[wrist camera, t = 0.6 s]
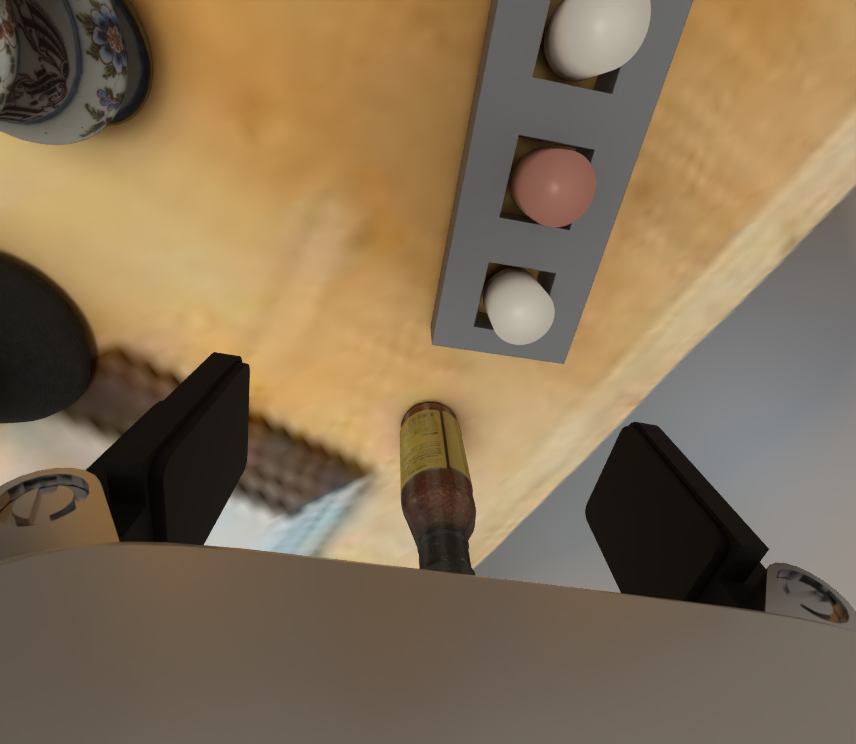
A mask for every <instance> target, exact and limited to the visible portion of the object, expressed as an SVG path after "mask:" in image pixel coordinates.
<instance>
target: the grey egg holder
mask: <svg viewBox="0 0 856 744" xmlns="http://www.w3.org/2000/svg"><path fill="white" fill-rule="evenodd" d="M550 1H551V0H492V1H491V6H490V12H489V17H488V22H487V28H486V33H485V38H484V44H483V49H482V55H481V60H480V65H479V71H478V76H477V81H476V87H475V92H474V97H473V103H472V108H471V113H470V119H469V124H468V129H467V135H466V140H465V145H464V151H463V156H462V162H461V167H460V172H459V178H458V183H457V188H456V194H455V199H454V204H453V210H452V215H451V220H450V226H449V231H448V236H447V242H446V247H445V253H444V258H443V263H442V269H441V274H440V279H439V285H438V290H437V295H436V301H435V306H434V311H433V317H432V322H431V338H432V345H437V346H444V347H451V348H458V349H464V350H471V351H478V352H485V353H492V354H499V355H506V356H513V357H520V358H527V359H533V360H540V361H547V362H554V363H561V364H564V363H565V360H566V357H567V354H568V352H569V349H570V346H571V343H572V340H573V337H574V335H575V332H576V329H577V326H578V323H579V321H580V318H581V315H582V312H583V309H584V307H585V304H586V301H587V298H588V295H589V292H590V290H591V287H592V284H593V281H594V278H595V276H596V273H597V270H598V267H599V264H600V261H601V259H602V256H603V253H604V250H605V247H606V245H607V242H608V239H609V236H610V233H611V230H612V228H613V225H614V222H615V219H616V216H617V214H618V211H619V208H620V205H621V202H622V199H623V197H624V194H625V191H626V188H627V185H628V183H629V180H630V177H631V174H632V171H633V168H634V166H635V163H636V160H637V157H638V154H639V152H640V149H641V146H642V143H643V140H644V137H645V135H646V132H647V129H648V126H649V123H650V121H651V118H652V115H653V112H654V109H655V106H656V104H657V101H658V98H659V95H660V92H661V90H662V87H663V84H664V81H665V78H666V75H667V73H668V70H669V67H670V64H671V61H672V59H673V56H674V53H675V50H676V47H677V44H678V42H679V39H680V36H681V33H682V30H683V28H684V25H685V22H686V19H687V16H688V13H689V11H690V8H691V5H692V2H693V0H650V2H651V17H650V23H649V27H648V31H647V34H646V36H645V39H644V41H643V43H642V44H641V46H640V48H639V49H638V51H637V52H636V53H635V55H634V56H633V57H632V58H631V59H630V60H629V61H628V62H626V63H625V64H624V65H622V66H621V67H619V68H617V69H615V70H612V71H609V72H606V73H603V74H600V75H598V78H597V81H596V84H595V88H594V90H590V89H586V88H581V87H576V86H572V85H567V84H562V83H558V82H553V81H548V80H544V79H539V78H534V77H533V73H534V69H535V64H536V60H537V56H538V52H539V47H540V43H541V39H542V35H543V30H544V26H545V22H546V18H547V14H548V9H549V5H550ZM518 137H522V138H527V139H532V140H537V141H542V142H547V143H552V144H557V145H562V146H567V147H572V148H577V149H576V152H578V153H580V154H582V155H583V156H584V157H585V158H587V160H588V161H589V162H590V164H591V165H592V167H593V170H594V173H595V178H596V188H595V193H594V197H593V200H592V202H591V204H590V206H589V207H588V209H587V210H586V211H585V213H584V214H583V215H582V216H581V217H580V218H578V219H577V220H576V221H574V222H573V223H571V224H568V225H566V226H563V227H547V226H543V225H541V224H539V223H538V222H536V221H535V220H533V219H532V218H530V217H529V216H523V215H517V214H512V213H506V212H501V208H502V204H503V200H504V196H505V191H506V187H507V183H508V179H509V175H510V170H511V166H512V162H513V158H514V153H515V149H516V145H517V141H518ZM489 262H492V263H498V264H504V265H510V266H516V267H522V268H528V269H534V270H540V275H539V278H538V283H539V284H540V285H541V286H542V288H543V289H544V290H545V291H546V292H547V294H548V295H549V296H550V298H551V299H552V301H553V304H554V309H555V315H554V320H553V323H552V325H551V327H550V329H549V330H548V331H547V332H546V334H545V335H544V336H542V337H541V338H540V339H538V340H536V341H535V342H532V343H529V344H525V345H514V344H510V343H507V342H505V341H504V340H502V339H501V338H500V337H499V336H498V335H497V334H496V333H495V331H494V329H493V326H492V324H491V321H490V319H489V317H488V314H487V313H482V312H477V310H478V306H479V302H480V297H481V293H482V289H483V285H484V280H485V276H486V272H487V268H488V263H489Z"/></svg>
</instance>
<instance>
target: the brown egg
mask: <svg viewBox="0 0 856 744" xmlns="http://www.w3.org/2000/svg"><path fill="white" fill-rule="evenodd" d="M595 188H596V178H595V173H594V170H593V167H592V165H591V164H590V162H589V161H588V160H587V158H585V157H584V156H583V155H582V154H580V153H578V152H576V151H573V150H566V149H556V148H538V149H535V150H532V151H530V152H529V153H527V154H526V155H524V156H523V157H522V158H521V159H520V160H519V161H518V163H517V164H516V166H515V167H514V169H513V172H512V174H511V178H510V194H511V197H512V200H513V202H514V204H515V205H516V206H517V208H518V209H519V210H521V211H522V212H523V213H525V214H526V215H528V216H529V217H530V218H532V219H533V220H535V221H536V222H538V223H539V224H541V225H543V226H547V227H563V226H566V225H568V224H571V223H573V222H574V221H576V220H577V219H578V218H580V217H581V216H582V215H583V214H584V213H585V211H586V210H587V209H588V207H589V206H590V204H591V202H592V200H593V197H594V193H595Z"/></svg>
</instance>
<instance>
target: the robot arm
mask: <svg viewBox="0 0 856 744" xmlns="http://www.w3.org/2000/svg"><path fill="white" fill-rule="evenodd" d="M249 379H250V367H249V365H248V364H246V363H242V358H241V357H240V356H234V355H228V354H222V353H216V352H214V353H212V354H211V355H210V356H209V357H208V358H207V359H206V360H205V361H204V362H203V363H202V364H201V365H200V366H199V367H198V368H197V369H196V370H195V371H194V372H193V373H192V374H191V375H189V376H188V377H187V378H186V379H185V380H184V381H183V382H182V383H181V384H180V385H179V386H178V387H177V388H176V389H175V390H174V391H173V392H172V393H171V394H170V395H169V396H168V397H167V398H166V399H165V400H164V401H159V402H158V403H156V404H155V405H154V406H153V407H152V408H151V409H150V410H149V411H147V412H146V413H145V414H144V415H143V416H142V417H141V418H140V419H139V420H138V421H137V422H136V423H135V424H134V425H133V426H132V427H131V428H130V429H129V430H127V431H126V432H125V433H124V434H123V435H122V436H121V437H120V438H119V439H118V440H117V441H116V442H115V443H114V444H113V445H112V446H111V447H110V448H109V449H107V450H106V451H105V452H104V453H103V454H102V455H101V456H100V457H99V458H98V459H97V460H96V461H95V462H94V463H93V464H92V465H91V466H90V467H89V468H87V469H86V470H80V469H75V468H53V469H47V470H41V471H36V472H33V473H30V474H26V475H23V476H20V477H18V478H16V479H14V480H11V481H9V482H7V483H5V484H3V485H2V486H0V744H856V611H855V610H854V609H853V608H852V606H851V605H850V604H849V602H848V601H847V600H846V599H845V598H843V596H841V594H839V593H838V592H837V591H836V590H835V589H833V588H832V587H831V586H830V585H828V584H827V583H826V582H824V581H823V580H821V579H820V578H818V577H816V576H815V575H813V574H811V573H810V572H808V571H805V570H803V569H801V568H799V567H797V566H793V565H790V564H786V563H773V564H771V565H769V566H768V568H767V569H765V568H764V567H763V565H762V564H761V563H760V561H761V559H762V558H763V557H764V555H765V554H766V553H767V551H768V550H769V548H768V547H767V546H766V545H765V544H764V543H763V542H762V541H761V540H760V538H758V536H757V535H756V534H755V533H754V532H753V531H752V530H751V528H750V527H749V526H748V525H747V524H746V523H745V522H744V521H743V520H742V519H741V517H740V516H739V515H738V514H737V513H736V512H735V511H734V510H733V509H732V507H731V506H730V505H729V504H728V503H727V502H726V501H725V500H724V499H723V497H722V496H721V495H720V494H719V493H718V492H717V491H716V490H715V489H714V487H713V486H712V485H711V484H710V483H709V482H708V481H707V480H706V479H705V477H703V475H702V474H701V473H700V472H699V471H698V470H697V469H696V467H695V466H694V465H693V464H692V463H691V462H690V461H689V460H688V459H687V458H686V456H685V455H684V454H683V453H682V452H681V451H680V450H679V449H678V447H677V446H676V445H675V444H674V443H673V442H672V441H671V440H670V439H669V437H668V436H667V435H666V434H665V433H664V432H663V431H662V430H661V429H660V428H659V427H658V426H656V425H650V424H644V423H638V422H633V423H631V424H630V425H629V426H626V427H624V428H623V429H622V430H621V432H620V434H619V436H618V438H617V440H616V443H615V445H614V447H613V449H612V451H611V453H610V456H609V458H608V460H607V462H606V464H605V466H604V468H603V471H602V473H601V475H600V477H599V479H598V481H597V484H596V485H595V488H594V490H593V492H592V494H591V496H590V499H589V501H588V503H587V505H586V510H585V514H586V519H587V522H588V523H589V526H590V528H591V530H592V532H593V534H594V536H595V538H596V541H597V543H598V545H599V547H600V549H601V551H602V553H603V556H604V558H605V560H606V562H607V564H608V566H609V568H610V570H611V572H612V575H613V577H614V579H615V581H616V583H617V585H618V587H619V589H620V591H621V593H615V592H607V591H597V590H590V589H582V588H574V587H565V586H557V585H549V584H540V583H532V582H523V581H515V580H507V579H498V578H490V577H482V576H473V575H465V574H457V573H448V572H440V571H432V570H423V569H415V568H407V567H398V566H390V565H381V564H373V563H364V562H355V561H346V560H338V559H329V558H320V557H311V556H303V555H294V554H285V553H276V552H268V551H259V550H250V549H241V548H230V547H218V546H206V545H204V543H205V541H206V540H207V538H208V536H209V534H210V532H211V530H212V529H213V527H214V525H215V523H216V521H217V519H218V518H219V516H220V514H221V512H222V510H223V508H224V507H225V505H226V503H227V501H228V499H229V497H230V496H231V494H232V492H233V490H234V488H235V486H236V485H237V483H238V481H239V479H240V477H241V475H242V474H243V472H244V469H245V466H246V462H247V451H248V415H249Z"/></svg>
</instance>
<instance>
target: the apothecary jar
mask: <svg viewBox="0 0 856 744" xmlns="http://www.w3.org/2000/svg"><path fill="white" fill-rule="evenodd" d="M151 82H152V57H151V51H150V46H149V43H148V39H147V36H146V33H145V31H144V28H143V26H142V24H141V22H140V20H139V17H138V15H137V14H136V12H135V10H134V8H133V7H132V5H131V4H130V2H129V1H128V0H0V131H1V132H3V133H6V134H8V135H11V136H13V137H16V138H19V139H22V140H26V141H30V142H34V143H40V144H50V145H63V144H71V143H76V142H79V141H82V140H85V139H88V138H90V137H92V136H94V135H95V134H97V133H99V132H100V131H101V130H103V129H104V128H105V127H106V126H109V125H116V124H120V123H123V122H125V121H127V120H129V119H130V118H132V117H133V116H134V115H136V114H137V113H138V112H139V110H140V109H141V108H142V106H143V104H144V103H145V101H146V99H147V97H148V95H149V92H150V88H151Z"/></svg>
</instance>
